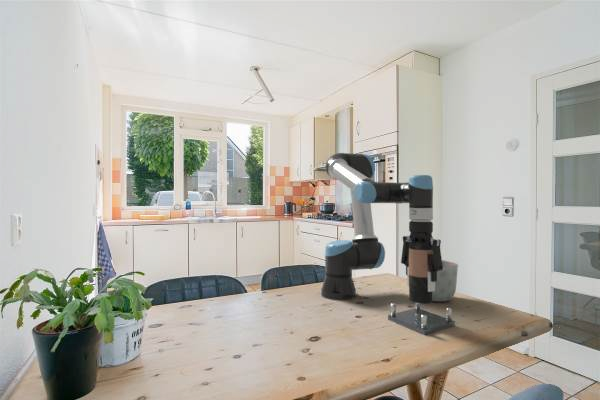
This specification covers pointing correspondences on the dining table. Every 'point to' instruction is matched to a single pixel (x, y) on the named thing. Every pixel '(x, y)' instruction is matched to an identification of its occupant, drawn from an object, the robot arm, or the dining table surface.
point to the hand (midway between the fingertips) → (420, 288)
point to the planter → (445, 282)
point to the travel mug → (419, 272)
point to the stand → (421, 319)
